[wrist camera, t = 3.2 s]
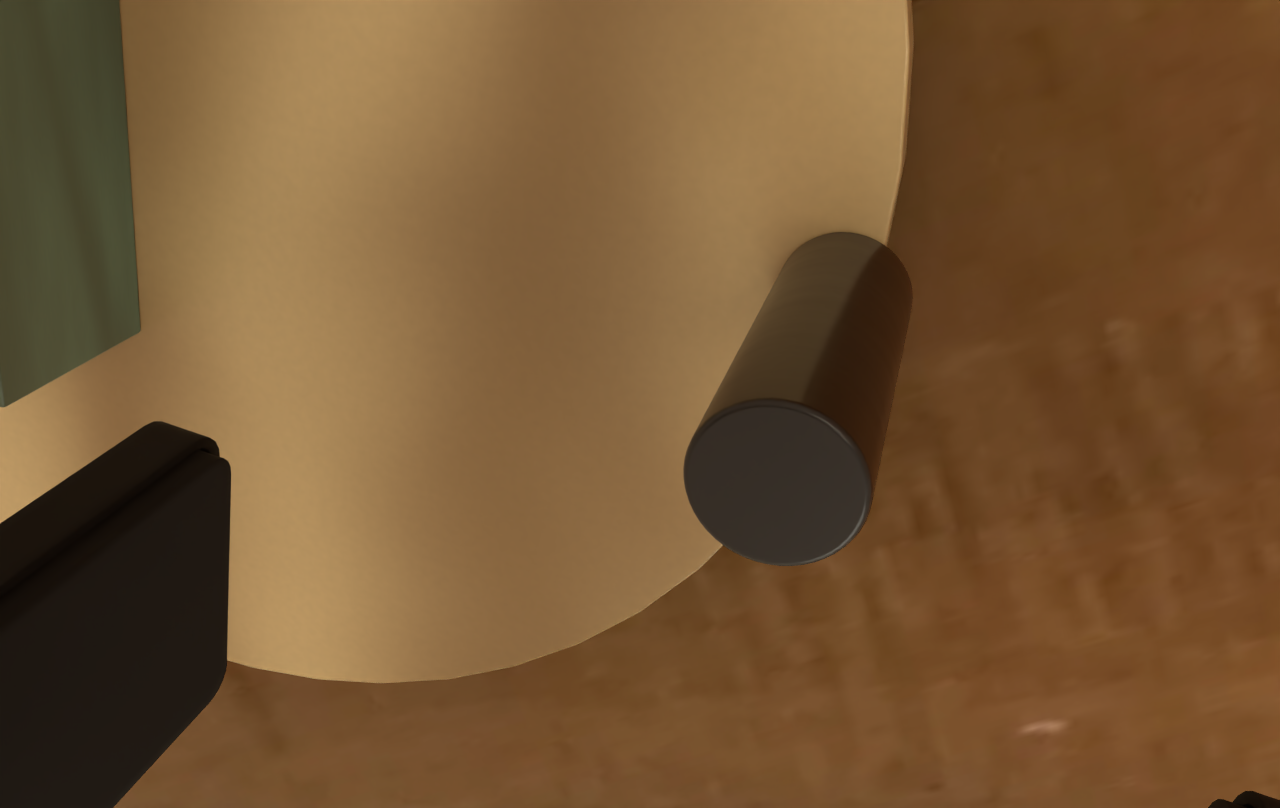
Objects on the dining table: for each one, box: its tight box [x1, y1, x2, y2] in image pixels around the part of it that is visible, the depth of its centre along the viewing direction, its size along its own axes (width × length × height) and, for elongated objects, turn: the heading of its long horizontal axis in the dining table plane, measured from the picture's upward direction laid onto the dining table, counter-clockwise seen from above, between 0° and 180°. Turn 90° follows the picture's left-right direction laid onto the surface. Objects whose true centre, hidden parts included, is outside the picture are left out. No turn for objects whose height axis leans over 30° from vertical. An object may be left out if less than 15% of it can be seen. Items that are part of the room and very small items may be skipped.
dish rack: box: [0, 0, 914, 683], centre depth 20 cm, size 30×29×8 cm
